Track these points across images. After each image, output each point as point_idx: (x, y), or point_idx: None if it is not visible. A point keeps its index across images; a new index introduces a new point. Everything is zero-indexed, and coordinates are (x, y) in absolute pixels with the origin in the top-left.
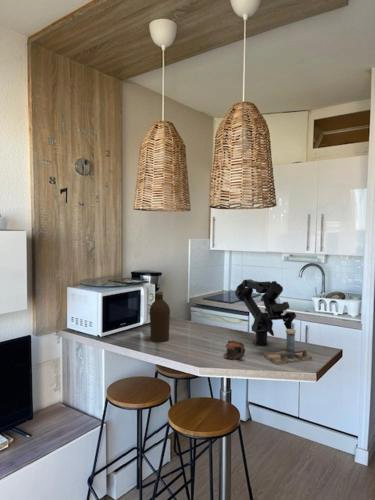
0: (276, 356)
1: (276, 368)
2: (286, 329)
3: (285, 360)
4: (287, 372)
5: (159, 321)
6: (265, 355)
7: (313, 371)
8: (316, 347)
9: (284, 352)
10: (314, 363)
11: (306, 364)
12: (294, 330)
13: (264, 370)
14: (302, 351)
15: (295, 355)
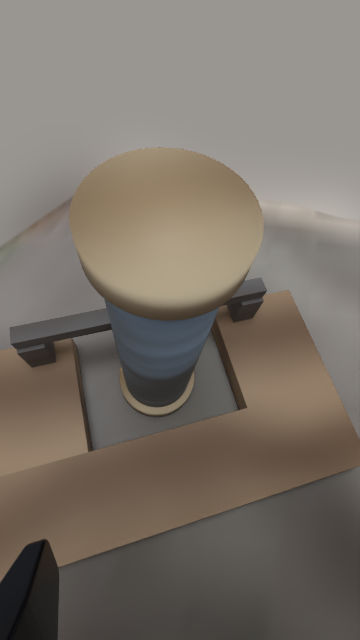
0: (272, 378)
1: (289, 249)
2: (239, 274)
3: (219, 307)
4: None
5: None
6: (353, 438)
7: None
8: None
9: (235, 296)
10: (17, 295)
11: (83, 285)
12: (96, 193)
13: (356, 233)
14: (57, 320)
15: (87, 434)
